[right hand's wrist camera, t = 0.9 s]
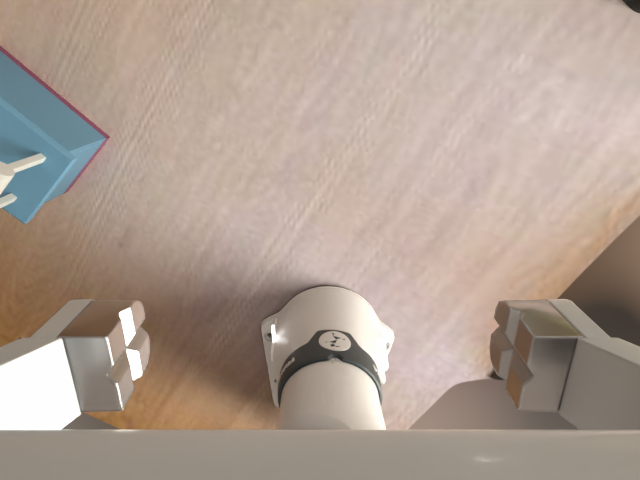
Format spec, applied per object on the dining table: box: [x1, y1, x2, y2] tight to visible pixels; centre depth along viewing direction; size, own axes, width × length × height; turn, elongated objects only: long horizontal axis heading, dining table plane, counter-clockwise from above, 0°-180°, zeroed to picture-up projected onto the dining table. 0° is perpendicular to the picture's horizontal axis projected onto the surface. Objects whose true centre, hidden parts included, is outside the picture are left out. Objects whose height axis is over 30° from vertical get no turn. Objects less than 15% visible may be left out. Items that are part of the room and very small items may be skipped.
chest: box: [0, 46, 110, 203], centre depth 48 cm, size 15×9×9 cm, turn 46°
